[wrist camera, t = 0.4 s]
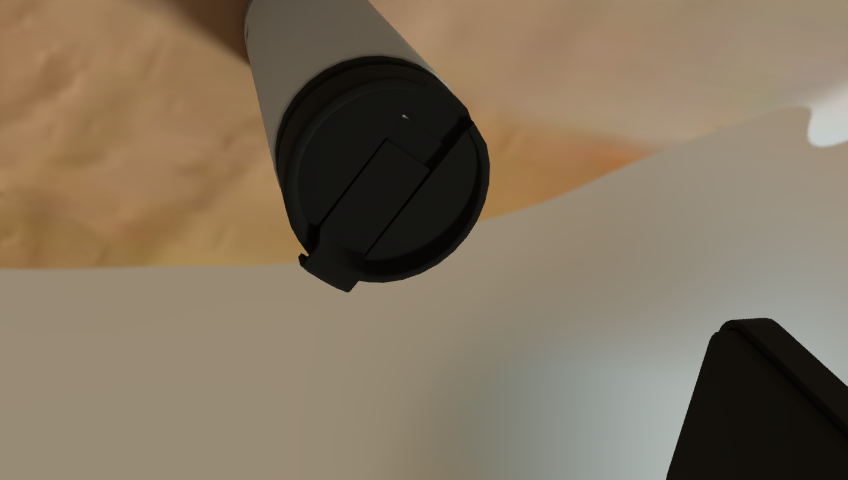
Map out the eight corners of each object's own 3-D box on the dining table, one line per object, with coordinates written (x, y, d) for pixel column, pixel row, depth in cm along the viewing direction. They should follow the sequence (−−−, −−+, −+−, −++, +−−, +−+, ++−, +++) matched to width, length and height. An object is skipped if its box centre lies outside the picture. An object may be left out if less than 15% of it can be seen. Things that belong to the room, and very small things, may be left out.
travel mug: (213, 48, 39) (229, 232, 22) (293, -65, 37) (379, 37, 20) (316, 119, 42) (402, 331, 24) (394, 17, 40) (544, 167, 23)
